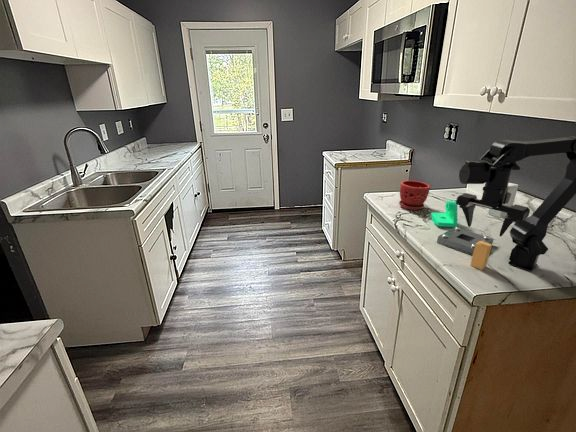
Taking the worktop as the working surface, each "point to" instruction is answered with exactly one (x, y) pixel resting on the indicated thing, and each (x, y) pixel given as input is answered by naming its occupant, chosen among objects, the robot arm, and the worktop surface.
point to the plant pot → (413, 194)
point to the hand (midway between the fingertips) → (484, 231)
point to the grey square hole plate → (462, 239)
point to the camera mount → (446, 215)
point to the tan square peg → (480, 255)
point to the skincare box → (511, 189)
